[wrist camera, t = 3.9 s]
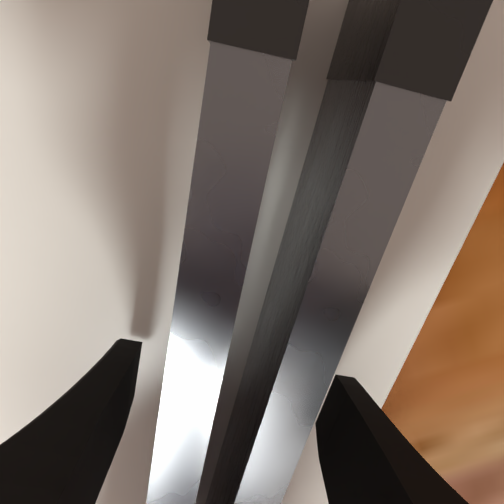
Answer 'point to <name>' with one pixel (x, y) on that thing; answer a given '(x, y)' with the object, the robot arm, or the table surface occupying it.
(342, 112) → the tongs base
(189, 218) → the tongs arm
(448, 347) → the table surface
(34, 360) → the cutting board
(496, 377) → the table surface
